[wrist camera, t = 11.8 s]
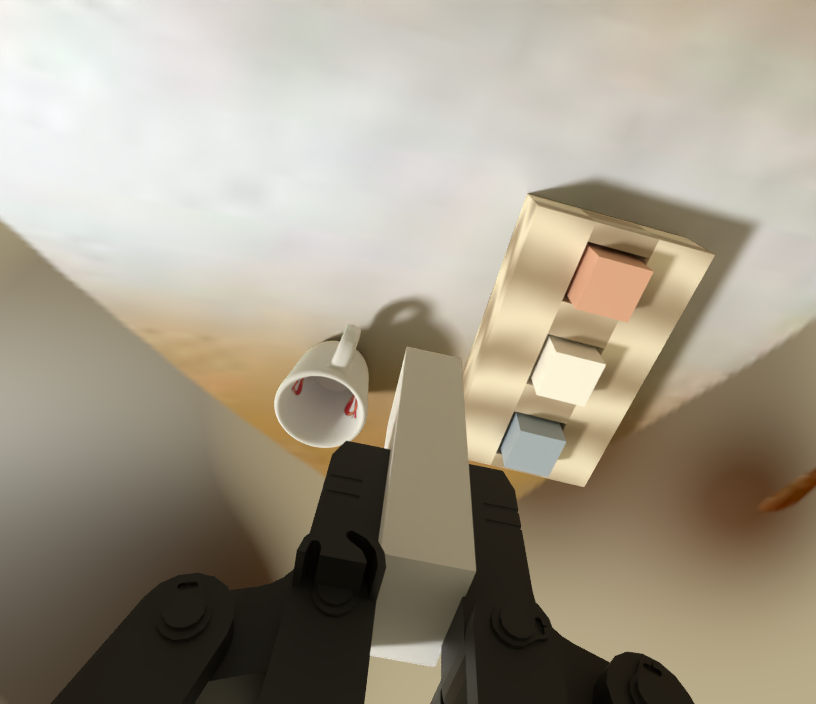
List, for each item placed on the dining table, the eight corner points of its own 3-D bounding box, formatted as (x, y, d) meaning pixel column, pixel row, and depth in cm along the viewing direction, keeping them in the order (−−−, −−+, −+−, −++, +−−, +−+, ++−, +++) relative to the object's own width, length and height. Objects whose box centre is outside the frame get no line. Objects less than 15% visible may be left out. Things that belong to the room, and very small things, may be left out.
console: (527, 193, 41) (538, 205, 36) (685, 237, 42) (715, 254, 37) (445, 423, 52) (445, 454, 47) (571, 453, 53) (583, 487, 48)
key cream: (544, 326, 44) (556, 351, 39) (589, 338, 44) (606, 364, 40) (527, 366, 45) (536, 395, 41) (570, 377, 46) (584, 406, 42)
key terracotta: (581, 238, 40) (599, 256, 36) (630, 252, 40) (653, 271, 36) (561, 286, 42) (575, 308, 38) (608, 299, 42) (627, 322, 38)
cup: (321, 291, 46) (300, 328, 39) (400, 324, 47) (394, 366, 40) (286, 382, 51) (262, 429, 43) (359, 410, 52) (347, 461, 45)
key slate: (513, 400, 47) (520, 430, 43) (554, 410, 48) (566, 441, 43) (498, 434, 49) (504, 466, 45) (538, 444, 49) (548, 477, 45)
